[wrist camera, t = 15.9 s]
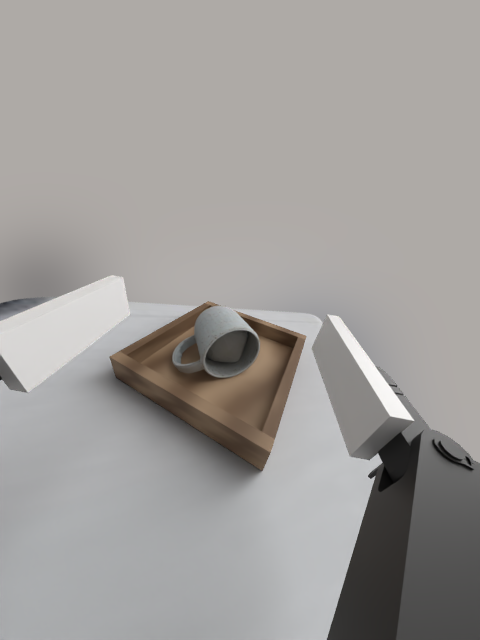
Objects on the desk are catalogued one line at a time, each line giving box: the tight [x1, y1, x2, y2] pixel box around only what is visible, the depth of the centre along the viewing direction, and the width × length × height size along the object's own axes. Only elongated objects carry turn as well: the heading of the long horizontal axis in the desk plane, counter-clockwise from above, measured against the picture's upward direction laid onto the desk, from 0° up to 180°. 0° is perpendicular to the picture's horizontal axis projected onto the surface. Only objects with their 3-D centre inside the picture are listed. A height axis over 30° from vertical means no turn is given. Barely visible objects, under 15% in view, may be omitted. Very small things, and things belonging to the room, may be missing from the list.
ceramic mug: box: [172, 305, 260, 378], centre depth 25 cm, size 11×8×8 cm
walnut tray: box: [110, 301, 306, 471], centre depth 27 cm, size 20×20×4 cm
